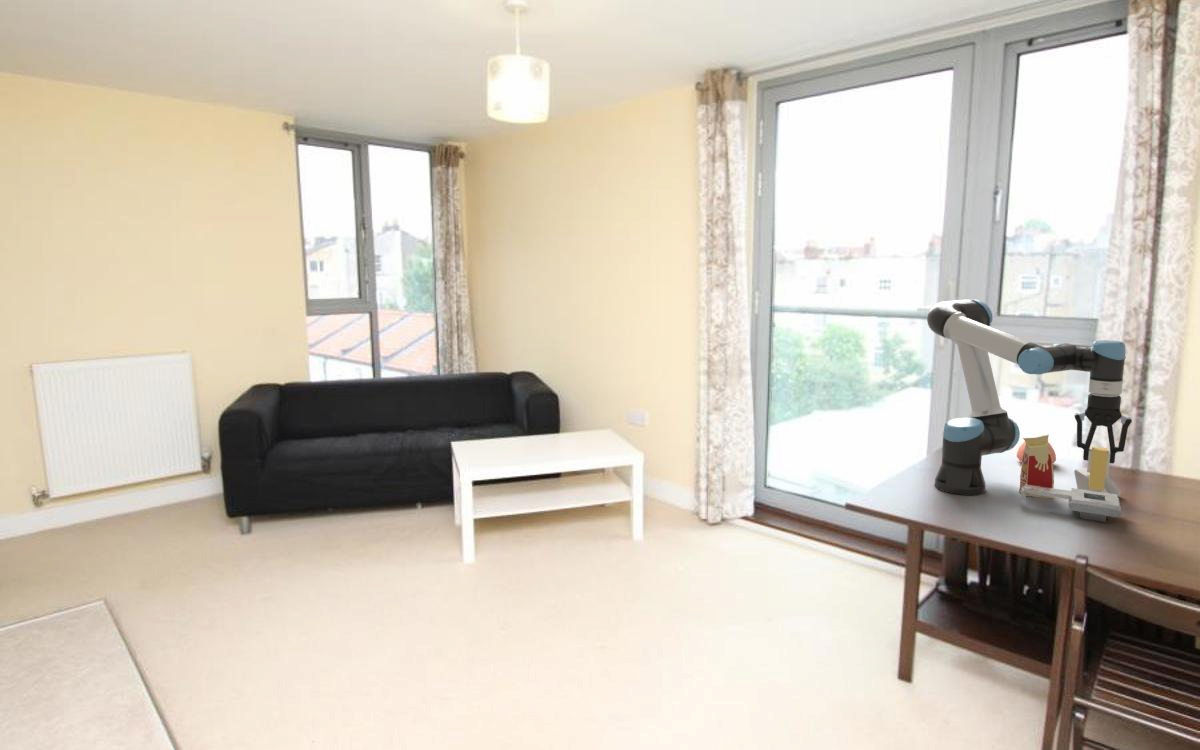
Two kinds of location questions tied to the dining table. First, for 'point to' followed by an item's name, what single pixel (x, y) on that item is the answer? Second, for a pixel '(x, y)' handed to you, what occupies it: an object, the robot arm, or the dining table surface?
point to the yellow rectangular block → (1098, 468)
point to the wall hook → (1083, 482)
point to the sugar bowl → (1022, 448)
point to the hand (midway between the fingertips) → (1097, 472)
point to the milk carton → (1037, 464)
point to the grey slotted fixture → (1081, 501)
